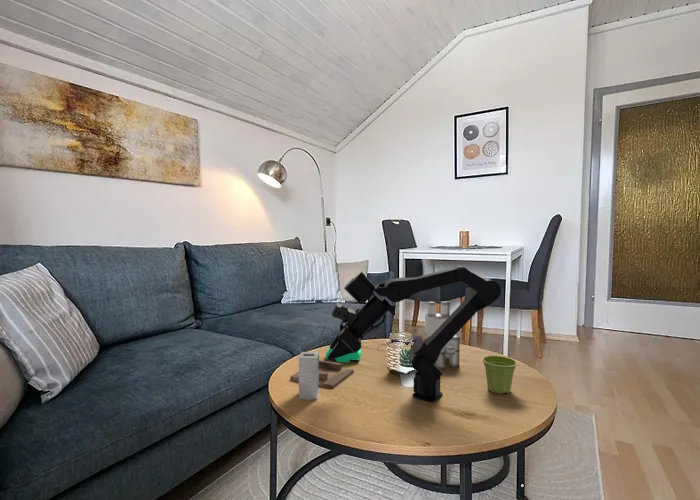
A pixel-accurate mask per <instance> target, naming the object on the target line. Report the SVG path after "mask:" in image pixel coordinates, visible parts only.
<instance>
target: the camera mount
mask: <svg viewBox="0 0 700 500" xmlns="http://www.w3.org/2000/svg"><path fill="white" fill-rule="evenodd" d="M332 350H333V349H331V348H330V347H329V348H328V350H327V351H326V354H325V359H326V360H329V359H328V358H327V357H328V355H329V354H330V352H331V351H332ZM361 356H362V348H361V349H360V350H359V351H358V352H357V353H355V352H354V353H350V354H347V355H344V356H341V357H338V358H335V359H334V360H335V361H336V362H335V363H350V361H360V360H361Z"/></svg>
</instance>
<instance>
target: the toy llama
mask: <svg viewBox="0 0 700 500" xmlns="http://www.w3.org/2000/svg"><path fill="white" fill-rule="evenodd" d="M426 303H427V305H426V306H427V307H426V308H427V312H426V313H425V315H424V316H425V317H424V320H425V321H424V322H425V325H424V329H425V330H424V331H425V332H424V334H425V335H426V336H427V338H428V337H430V336H431V335H432V334H433V333H434V332H435V331H436V330H437V329H438V328H439V327H440V326H441V325H442V324H443V322H444V321H445V320H446V319H447V318H448V317H449V316H450V315H451V314H450V310H451V309H450V308H451V307H450V305H451V303H450V302H449V301H440V313H437V302H435V301H427V302H426ZM460 341H461V338H460V337H459V336H458V335H457V334H456V335H455V336H454V337H453V338H452V339H451V340H450V341H449V342H448V343H447V344H446V345H445V346H444V347H443V348H442V350H441V352H440V355H439V357H438V359H437V361H436V364H437V366H438V368H445V367H446V360H449V366H450V367H452V368H458V367H460V353H461V352H460V351H461V350H460V347H461V344H460V343H461V342H460ZM445 359H446V360H445Z"/></svg>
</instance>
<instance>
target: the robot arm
mask: <svg viewBox="0 0 700 500" xmlns="http://www.w3.org/2000/svg"><path fill="white" fill-rule="evenodd" d="M458 282H460V283H462V284H464V285H465V286H467V287H469V289H468V291H467V293H466V296H465V298H464V300H463V301H462V302H461V304H459V306H458V307H456V308H455V310H453V312H452V313H451V314H450V316H449V317H448V318H447V319H446V320H445V321H444V322H443V324H442V325H441V326H440V327H439V328H438V329H437V330H436V331H435V332H434V333H433V334H432V335H431V336H430V337H428V336H427V338H424V339H423V336H422V337H419V338H418V340H417V341H416V342H415V343H414V344H413V345H411V350H410V351H409V358H410V361H411V363H412V366H413V368H414V371H416V372H415V373H414V377H413V390H412V391H413V393H412V397H413V398H416V399H420V400H423V401H426V402H430V403H434V402H436V401H438V399H439V398H441V396H443V392H441V377H442V375H443V374H442V371H441V369H440V367H438V366H437V364H436V361H437V359H438V357H439V355H440V352H441V350H442V348H443V347H444V346H445V345H446V344H447V343H448V342H449V341H450V340H451V339H452V338H453V337H454V336H455V335H457V334H458V332H460V331H461V330H462V328H463V327H464V326H465V325H466V324H467V323H468V322H469V321H470V320H471V319H472V318H473V317H474V315H476V313H478V312H479V311H481V310H483V309H485V308H488V307H489V306H491V305H492V304H493V303H495V302H496V301H497V300H498V299H500V296H501V295H502V288H501V285H500V284H499V283H498V282H497V281H495V280H492V279H490V278H487V277H481V276H479V275H477V274H475V273H474V272H472V271H470V270H468V268H467V267H465V266H461V265H455V266H453V267H451V268H447V269H446V268H445V269H443V270H438V271H435V272H432V273H427V274H423V275H420V276H416V277H396V278H395V277H394V278H390V279H387V280H386V282H382V283H375V284H374V283H373V282H371V279H369V278H368V277H367V276H366V274H365V273H364V272H363V271H360V272H359V273H358V274H356V276H354V277H353V278H352V279H350V280H349V282H347V284H346V285H345V286H344V287H343V290H344V291H345V292H346V293H347V294H348V295H349V296H350V297H351V298H352V299H353V300H355V302H356V303H365V304H363V306H362V307H360V308H359V307H358V308H357V309H355V310H354V309H352V308H350V307H348V306H346V305H343V304H341V303H339V302H336V304H335V305H334V307H333V310H332V312H331V316H332V317H333V318H335V319H339V320H341V321H340V324H339V331H338V333H337V335H336V336H335V338H334V339H333V340H332V342H331V344H330V345H329V348H331V349H333V350H332V351H331V352H330V354H329V355H328V357H327V358H328V359H327V360H328V361H333V360H336V359H335V358H338V357H341V356H344V355H347V354H350V353H354V352H355V353H357V352H358V351H359V350H360V349H361V350H362V340H363V338H364V337H365V336H364V335H365V334H366V333H367V332H368V331H369V330H370V329H371V330H372V329H374V328H375V324H376V323H378V321H380V319H381V318H383V317H384V316H385V315H386V314H387V312H388V313H390V314H391V315H392V316H395V315H396V306H397V305H396V304H395V303H399V302H402V301H404V300H406V299H408V298H409V299H410V298H411V297H412V296H414V295H416V294H417V293H420V292H423V291H427V290H431V289H432V290H433V289H435V288H439V287H442V286H448V285H451V284H455V283H458ZM379 296H380V297H379ZM386 298H387V299H386ZM388 300H389V301H391V302H392V303H390V302H389V301H388Z"/></svg>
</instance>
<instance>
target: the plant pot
mask: <svg viewBox="0 0 700 500" xmlns="http://www.w3.org/2000/svg"><path fill="white" fill-rule="evenodd" d="M481 359H482V362H483V365H484V368H485V369H484V370H485V377H486V383H487V384H486V385H487V390H489V391H490V392H492V393H495V394H500V395H503V394H509V393H511V390H512V383H513V377H514V372H515V370H516V366H517V365H518V362H517V360H515V359H514V358H511V357H508V356H507V357H506V356H502V355H486V356H483V357H482V358H481Z"/></svg>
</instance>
